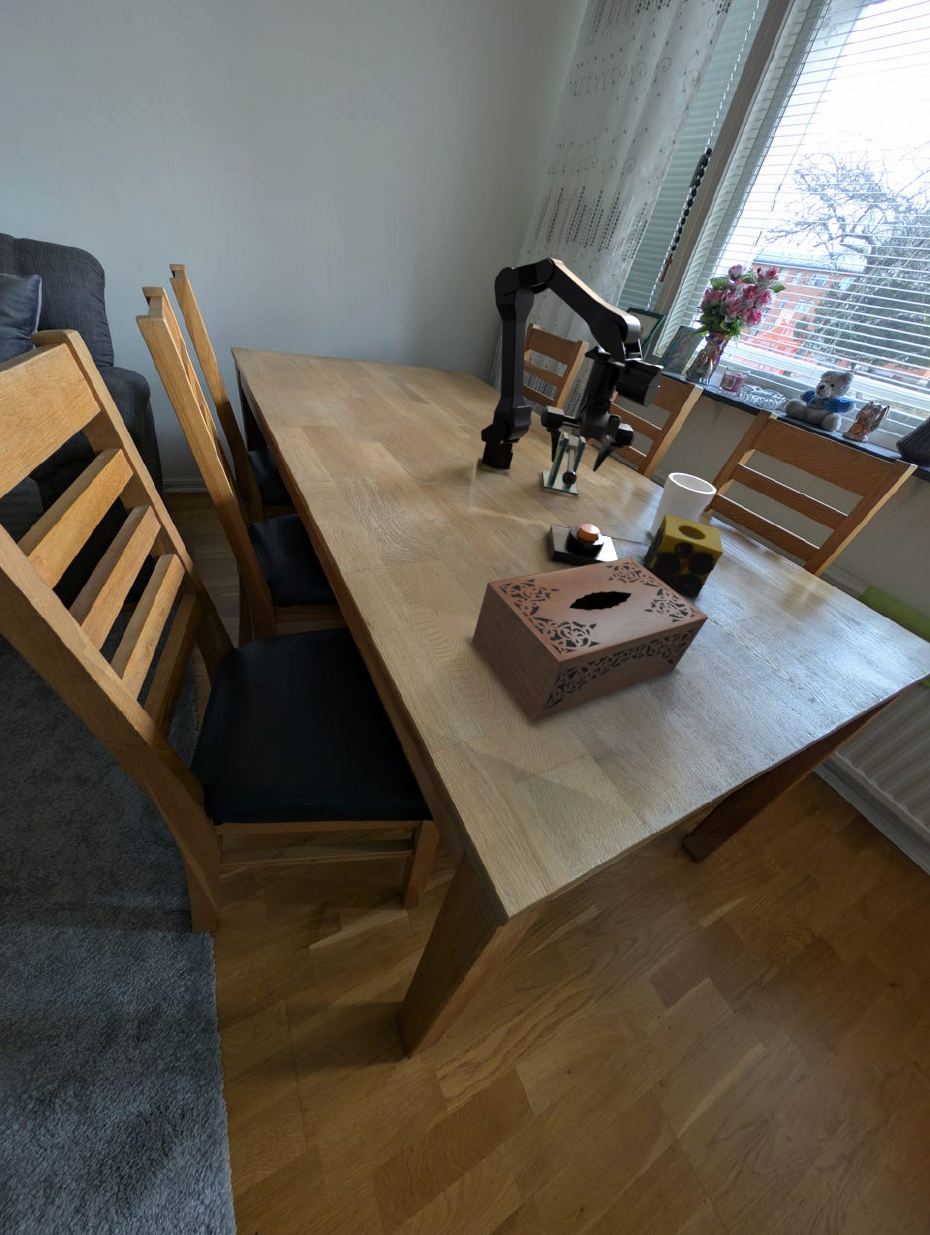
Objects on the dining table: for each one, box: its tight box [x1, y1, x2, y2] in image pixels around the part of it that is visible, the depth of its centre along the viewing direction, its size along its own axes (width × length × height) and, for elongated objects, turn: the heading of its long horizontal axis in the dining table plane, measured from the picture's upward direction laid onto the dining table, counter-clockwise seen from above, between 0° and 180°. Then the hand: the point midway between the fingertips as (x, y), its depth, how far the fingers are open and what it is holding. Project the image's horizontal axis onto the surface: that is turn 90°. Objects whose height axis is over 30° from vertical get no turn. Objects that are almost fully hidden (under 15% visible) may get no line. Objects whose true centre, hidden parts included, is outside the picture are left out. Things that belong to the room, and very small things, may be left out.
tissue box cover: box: [471, 557, 709, 723], centre depth 64 cm, size 26×14×10 cm, turn 120°
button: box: [577, 523, 601, 541], centre depth 88 cm, size 4×4×2 cm
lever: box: [562, 435, 579, 486], centre depth 107 cm, size 13×3×3 cm, turn 175°
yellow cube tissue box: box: [642, 514, 724, 599], centre depth 87 cm, size 10×10×10 cm
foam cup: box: [649, 472, 717, 538], centre depth 99 cm, size 10×9×13 cm
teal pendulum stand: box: [541, 431, 587, 496], centre depth 111 cm, size 10×8×12 cm
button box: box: [547, 524, 619, 567], centre depth 90 cm, size 12×10×4 cm
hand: (573, 466), depth 103 cm, fingers open, 9 cm apart
